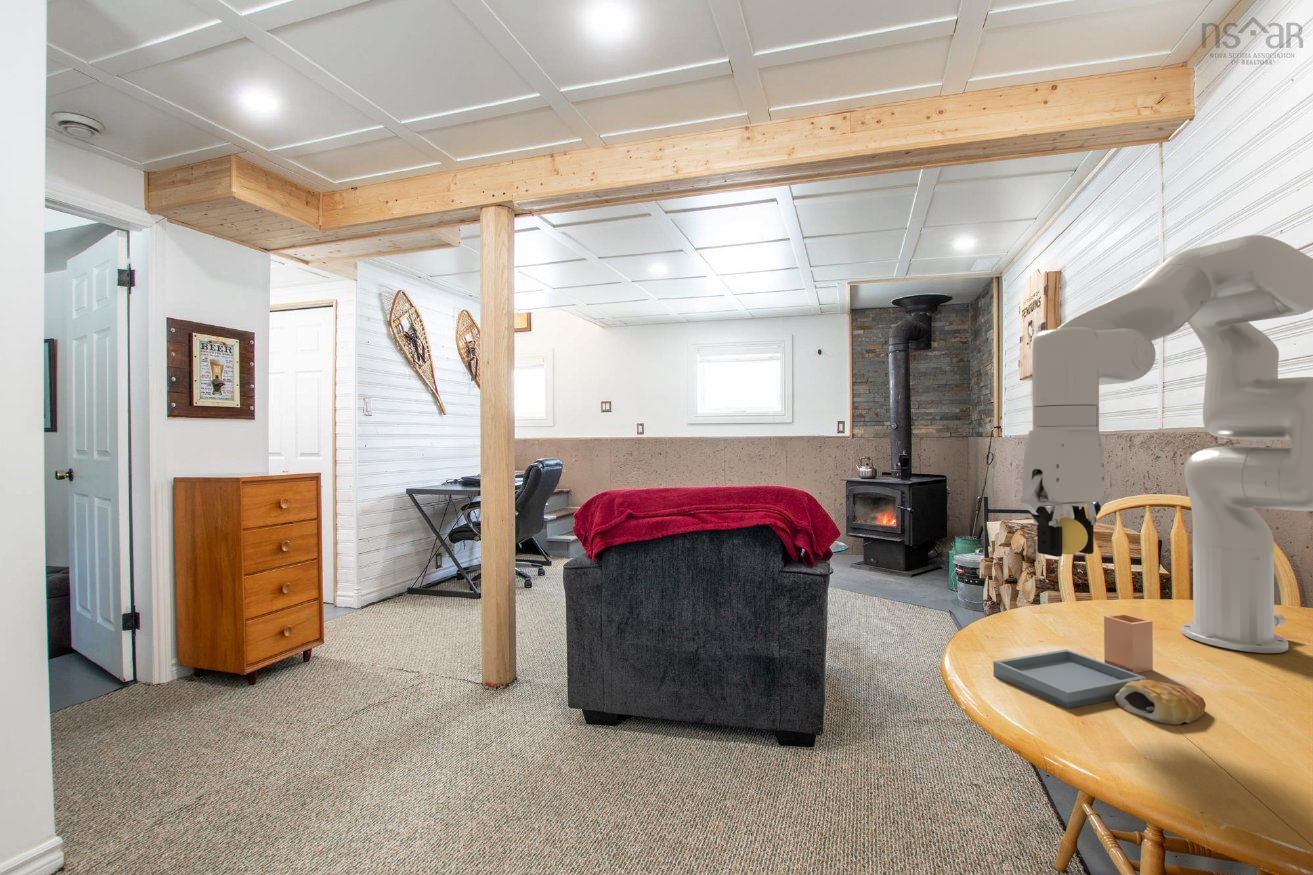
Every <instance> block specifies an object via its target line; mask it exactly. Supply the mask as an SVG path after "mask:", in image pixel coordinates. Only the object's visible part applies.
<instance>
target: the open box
mask: <svg viewBox="0 0 1313 875" xmlns="http://www.w3.org/2000/svg"><path fill="white" fill-rule="evenodd" d="M1103 629H1104V630H1103V631H1104V632H1103V635H1104V636H1103V637H1104V638H1103V639H1104V640H1103V644H1104V646H1103V647H1104V648H1103V649H1104V654H1103V655H1104V659H1103V660H1104V663H1107V664H1109V665H1112V666H1115V667H1118V668H1121V669H1124V670H1126V671H1129V672H1132V673H1135V674H1137V673H1143V672H1148V671H1153V670H1154V667H1153V665H1154V661H1153V660H1154V655H1153V654H1154V653H1153V652H1154V650H1153V644H1154V643H1153V641H1154V639H1153V621H1152V620H1149V619H1145V618H1142V617H1138V616H1135V615H1131V614H1127V613H1118V614H1117V613H1116V614H1112V615H1105V616H1103Z"/></svg>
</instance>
